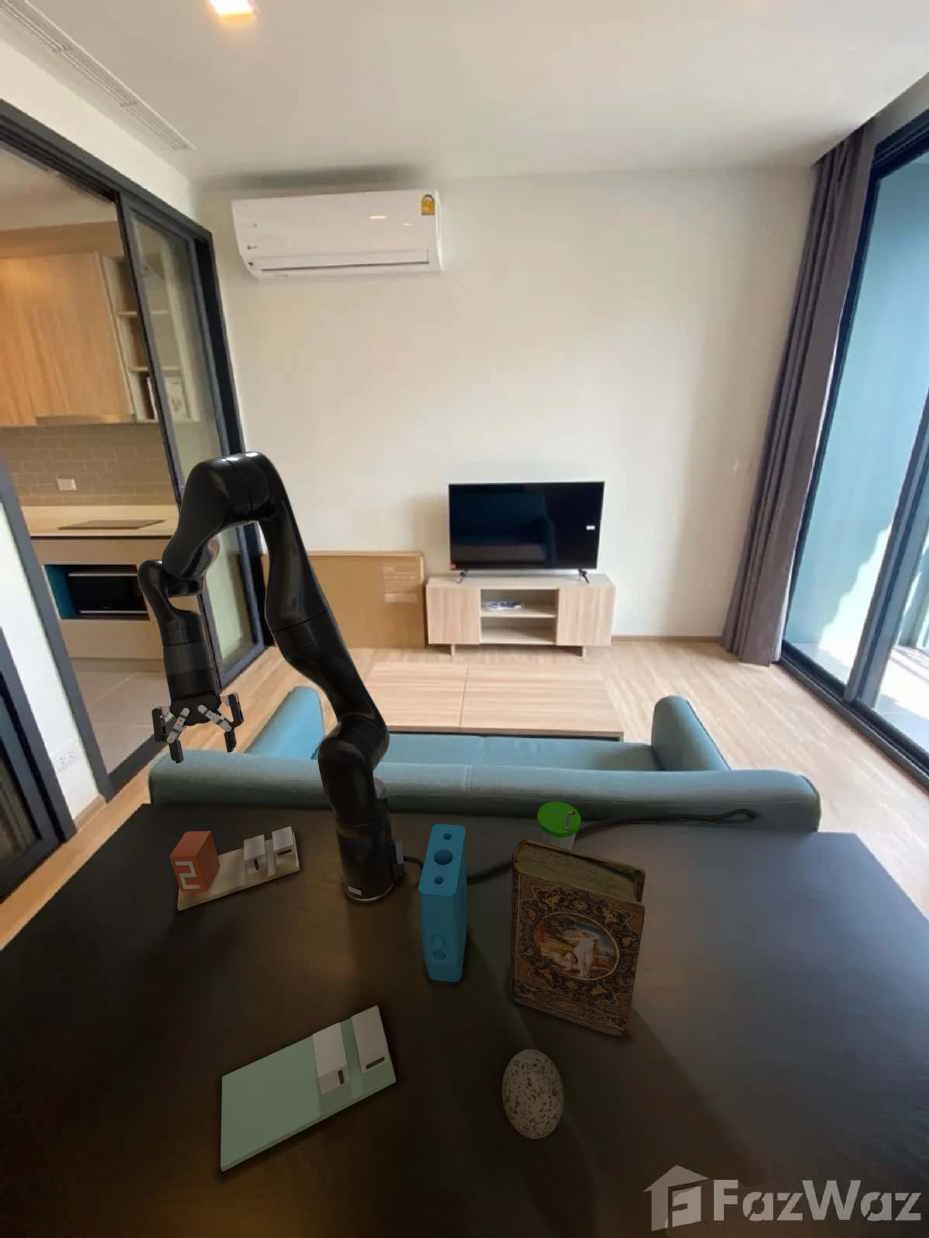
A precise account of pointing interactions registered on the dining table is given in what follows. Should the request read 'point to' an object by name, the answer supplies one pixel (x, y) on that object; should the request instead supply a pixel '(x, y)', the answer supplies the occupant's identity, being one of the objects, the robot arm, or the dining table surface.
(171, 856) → the orange red rectangular block
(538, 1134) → the decorative egg
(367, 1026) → the switch panel board
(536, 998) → the book
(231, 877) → the beige switch panel
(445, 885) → the block
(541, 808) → the cup
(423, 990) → the dining table surface
